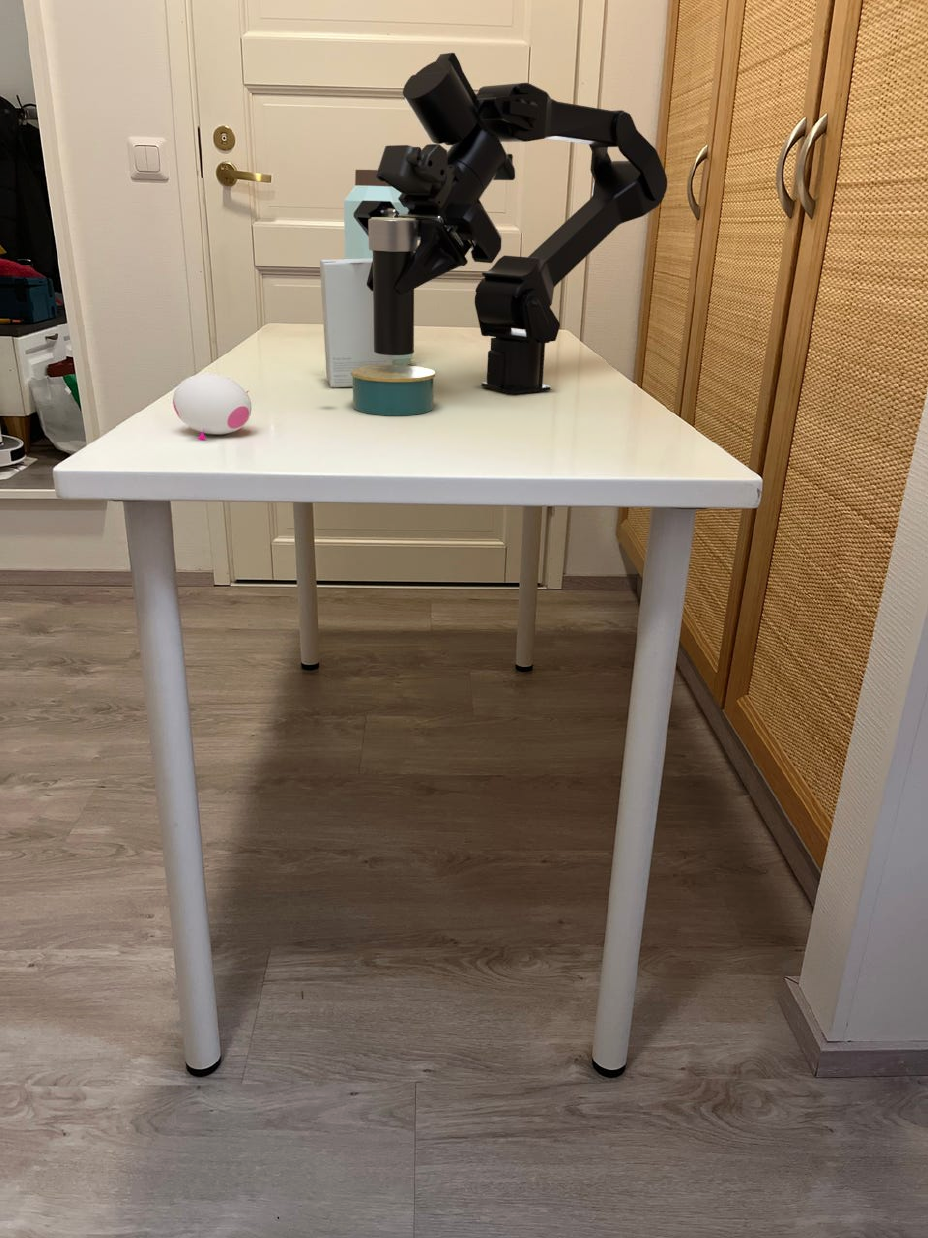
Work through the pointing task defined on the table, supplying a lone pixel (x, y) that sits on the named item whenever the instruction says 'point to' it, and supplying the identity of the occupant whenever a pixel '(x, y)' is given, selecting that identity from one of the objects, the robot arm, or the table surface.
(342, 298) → the cosmetic box
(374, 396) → the tin
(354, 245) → the water bottle
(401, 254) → the torch
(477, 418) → the table surface
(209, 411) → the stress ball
